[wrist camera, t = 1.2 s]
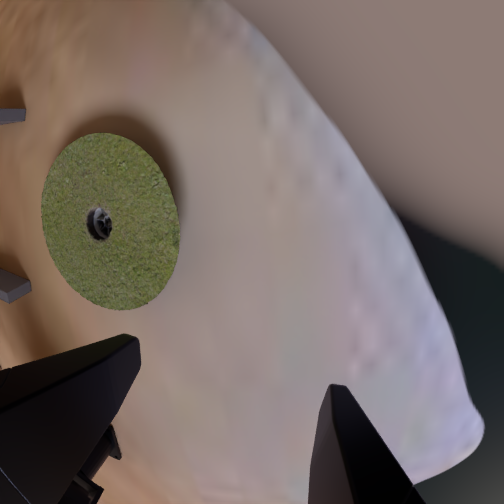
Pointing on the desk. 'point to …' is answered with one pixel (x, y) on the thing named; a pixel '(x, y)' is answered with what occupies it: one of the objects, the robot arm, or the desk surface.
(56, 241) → the green speckled disc
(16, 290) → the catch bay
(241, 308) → the desk surface
